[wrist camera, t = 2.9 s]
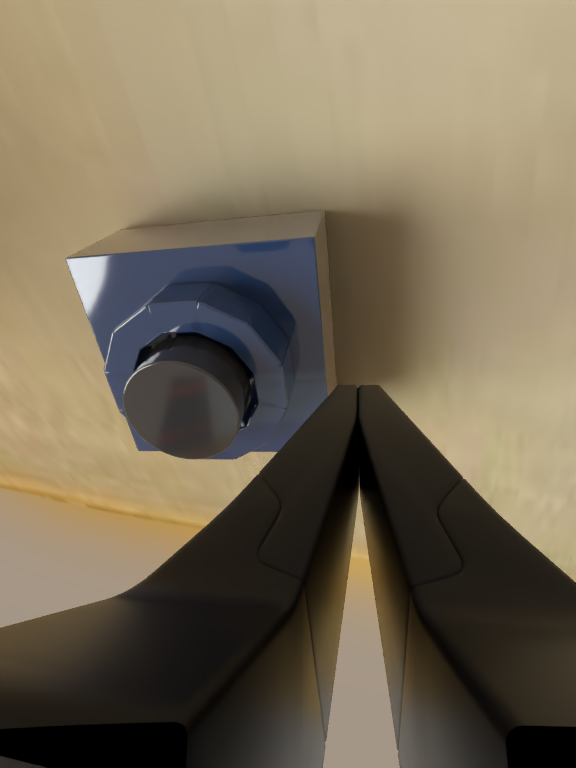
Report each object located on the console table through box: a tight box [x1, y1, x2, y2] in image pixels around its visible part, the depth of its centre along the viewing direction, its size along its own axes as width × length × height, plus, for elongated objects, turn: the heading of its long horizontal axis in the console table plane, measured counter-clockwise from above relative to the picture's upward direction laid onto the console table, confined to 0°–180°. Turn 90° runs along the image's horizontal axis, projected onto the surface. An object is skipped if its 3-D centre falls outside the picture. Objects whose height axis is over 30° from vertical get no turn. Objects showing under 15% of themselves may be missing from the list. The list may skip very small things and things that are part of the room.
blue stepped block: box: [66, 210, 337, 459], centre depth 20 cm, size 10×10×7 cm
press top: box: [123, 336, 251, 459], centre depth 17 cm, size 4×4×2 cm
